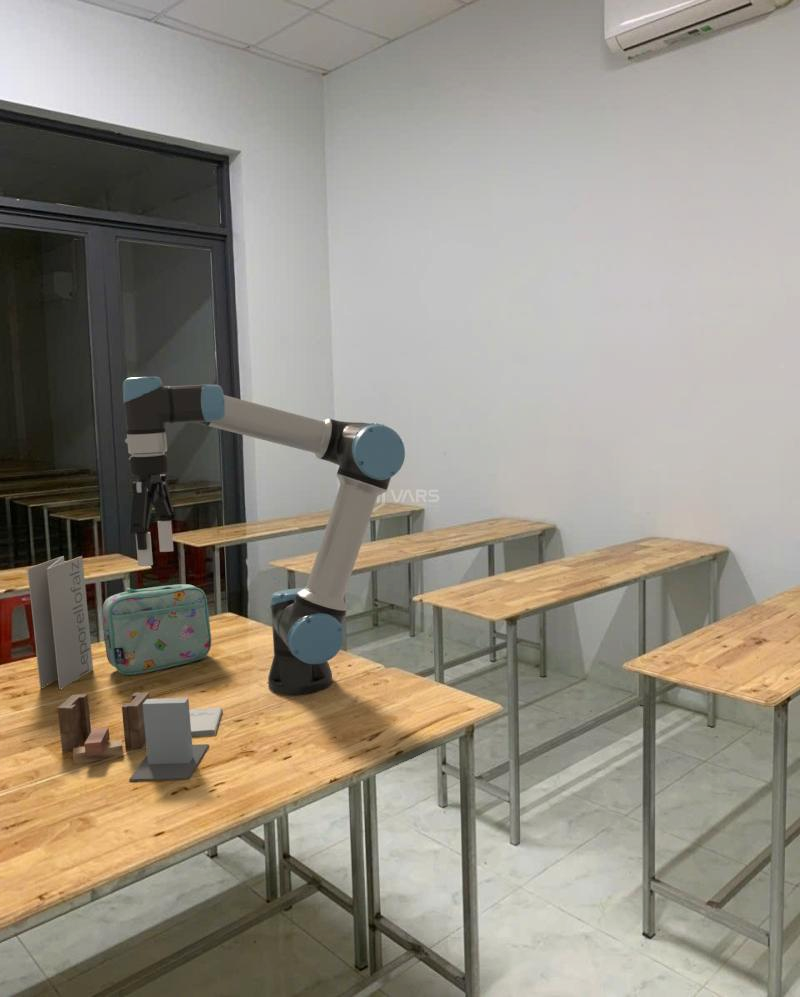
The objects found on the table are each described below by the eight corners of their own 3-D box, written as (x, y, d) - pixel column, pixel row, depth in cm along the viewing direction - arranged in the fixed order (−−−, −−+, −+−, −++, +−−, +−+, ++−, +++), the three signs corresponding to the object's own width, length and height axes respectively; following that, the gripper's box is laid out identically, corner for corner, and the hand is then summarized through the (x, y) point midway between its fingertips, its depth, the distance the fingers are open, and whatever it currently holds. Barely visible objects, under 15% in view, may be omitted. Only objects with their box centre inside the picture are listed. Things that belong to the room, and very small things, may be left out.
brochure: (60, 690, 199) (47, 568, 194) (39, 689, 200) (27, 568, 196) (93, 669, 212) (82, 556, 208) (74, 669, 213) (62, 555, 209)
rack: (153, 733, 171) (149, 692, 170) (140, 749, 164) (136, 706, 162) (77, 735, 172) (73, 694, 170) (61, 751, 164) (56, 708, 163)
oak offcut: (122, 751, 164) (121, 739, 164) (123, 757, 161) (122, 745, 161) (74, 760, 161) (73, 748, 161) (74, 766, 158) (73, 754, 158)
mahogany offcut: (94, 740, 164) (92, 728, 163) (109, 739, 164) (108, 727, 164) (85, 756, 157) (84, 743, 157) (102, 754, 157) (100, 742, 157)
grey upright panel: (193, 757, 158) (188, 697, 156) (189, 763, 156) (184, 702, 154) (152, 758, 158) (146, 699, 157) (147, 764, 156) (142, 703, 154)
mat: (208, 746, 164) (208, 744, 164) (188, 779, 150) (188, 777, 150) (154, 747, 164) (154, 745, 164) (129, 781, 150) (129, 779, 150)
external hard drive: (175, 740, 169) (184, 716, 181) (215, 736, 169) (222, 713, 182) (174, 732, 169) (184, 709, 181) (214, 729, 169) (222, 706, 182)
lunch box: (109, 682, 202) (102, 598, 200) (101, 670, 211) (94, 589, 208) (215, 660, 216) (209, 581, 213) (203, 650, 224) (198, 574, 222)
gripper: (149, 450, 177) (157, 546, 180) (105, 461, 153) (116, 572, 156) (184, 448, 177) (191, 545, 180) (145, 459, 153) (155, 571, 155)
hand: (156, 558), depth 168 cm, fingers open, 13 cm apart
